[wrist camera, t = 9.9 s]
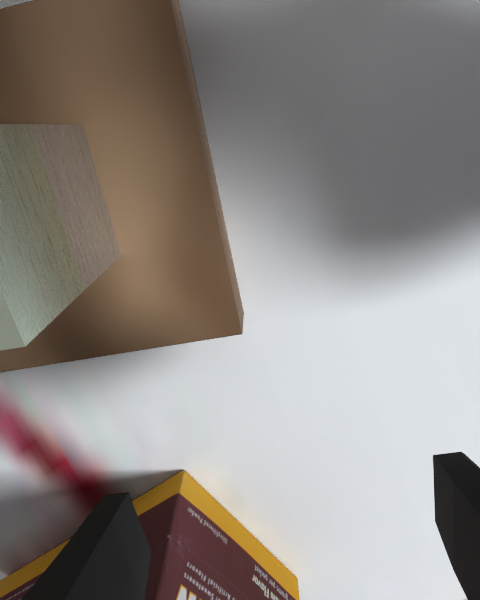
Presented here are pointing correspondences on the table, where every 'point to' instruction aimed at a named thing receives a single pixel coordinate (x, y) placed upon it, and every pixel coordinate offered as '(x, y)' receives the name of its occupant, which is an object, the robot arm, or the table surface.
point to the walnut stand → (126, 172)
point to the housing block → (48, 226)
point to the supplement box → (188, 551)
